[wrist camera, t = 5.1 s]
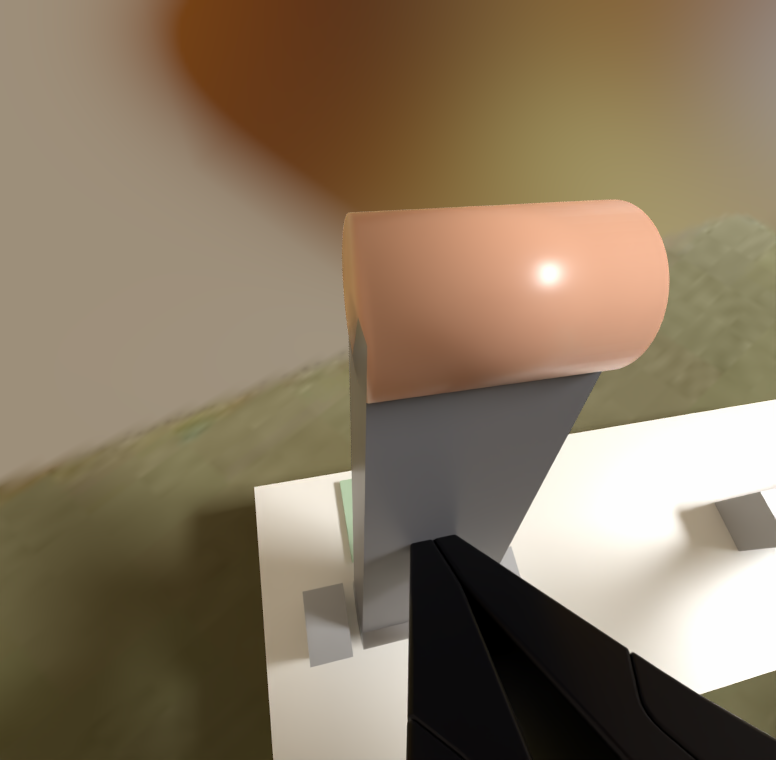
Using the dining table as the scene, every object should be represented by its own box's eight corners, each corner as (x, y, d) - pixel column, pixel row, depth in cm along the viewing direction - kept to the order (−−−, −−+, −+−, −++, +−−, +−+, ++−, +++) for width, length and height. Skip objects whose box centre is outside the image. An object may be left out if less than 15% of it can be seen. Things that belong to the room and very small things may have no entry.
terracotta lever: (473, 638, 12) (705, 251, 4) (365, 666, 11) (378, 276, 3) (449, 565, 13) (584, 173, 5) (352, 587, 12) (339, 182, 5)
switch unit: (872, 609, 16) (1037, 613, 13) (287, 786, 12) (268, 875, 8) (757, 416, 20) (859, 373, 16) (264, 502, 16) (244, 472, 12)
